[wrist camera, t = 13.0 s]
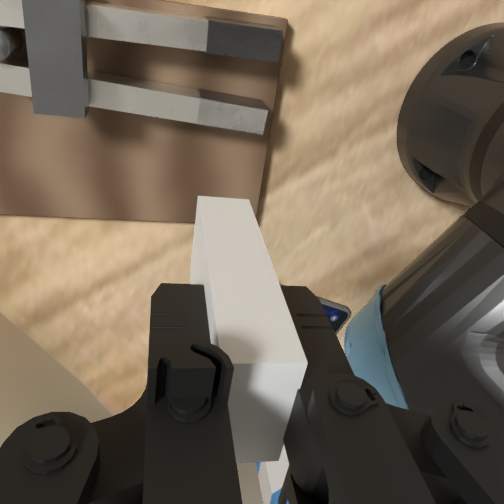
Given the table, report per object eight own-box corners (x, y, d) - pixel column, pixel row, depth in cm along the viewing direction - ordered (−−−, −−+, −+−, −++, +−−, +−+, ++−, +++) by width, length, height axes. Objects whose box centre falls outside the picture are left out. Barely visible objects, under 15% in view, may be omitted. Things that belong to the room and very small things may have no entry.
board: (284, 18, 34) (287, 19, 33) (252, 219, 42) (254, 225, 41) (-81, -36, 28) (-90, -36, 27) (-32, 205, 37) (-37, 212, 36)
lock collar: (91, -17, 29) (78, -13, 25) (95, 96, 33) (85, 118, 28) (42, -24, 29) (19, -22, 24) (52, 92, 33) (34, 113, 28)
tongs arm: (266, 74, 34) (276, 85, 31) (255, 124, 36) (264, 139, 33) (-8, 20, 30) (-27, 26, 27) (-4, 81, 32) (-21, 93, 29)
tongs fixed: (273, 25, 33) (282, 30, 30) (261, 108, 36) (268, 119, 33) (-82, -26, 28) (-106, -25, 25) (-61, 76, 31) (-80, 86, 28)
